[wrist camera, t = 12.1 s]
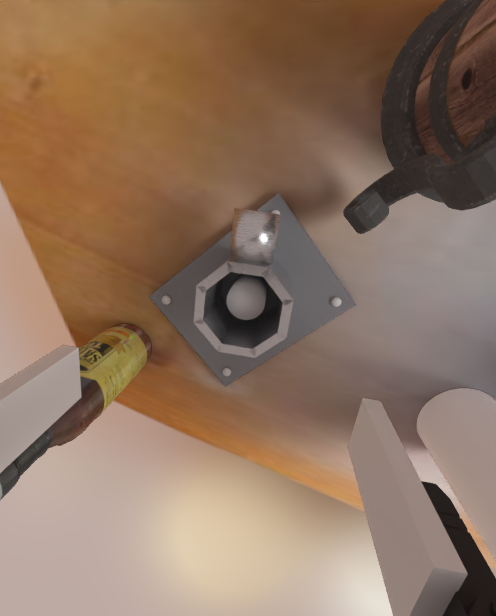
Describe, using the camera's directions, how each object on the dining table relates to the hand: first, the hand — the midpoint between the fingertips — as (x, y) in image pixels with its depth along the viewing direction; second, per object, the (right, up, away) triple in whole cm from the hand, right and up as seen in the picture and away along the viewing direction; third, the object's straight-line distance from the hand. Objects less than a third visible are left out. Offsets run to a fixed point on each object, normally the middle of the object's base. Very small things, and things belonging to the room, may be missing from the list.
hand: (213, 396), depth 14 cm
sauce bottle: (-13, 0, +24) cm, 27 cm away
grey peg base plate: (+2, +5, +20) cm, 21 cm away
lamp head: (+2, +8, +18) cm, 20 cm away
